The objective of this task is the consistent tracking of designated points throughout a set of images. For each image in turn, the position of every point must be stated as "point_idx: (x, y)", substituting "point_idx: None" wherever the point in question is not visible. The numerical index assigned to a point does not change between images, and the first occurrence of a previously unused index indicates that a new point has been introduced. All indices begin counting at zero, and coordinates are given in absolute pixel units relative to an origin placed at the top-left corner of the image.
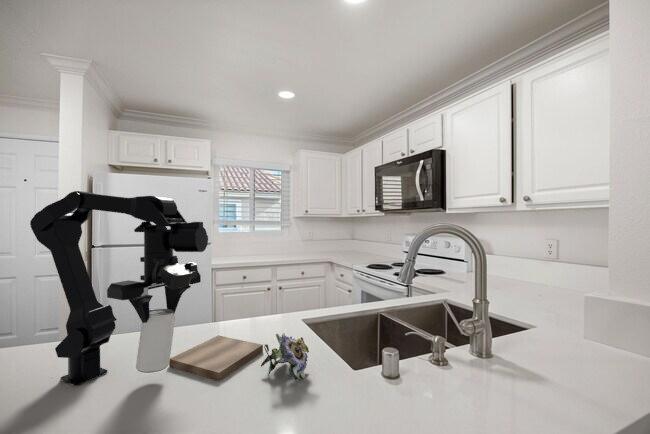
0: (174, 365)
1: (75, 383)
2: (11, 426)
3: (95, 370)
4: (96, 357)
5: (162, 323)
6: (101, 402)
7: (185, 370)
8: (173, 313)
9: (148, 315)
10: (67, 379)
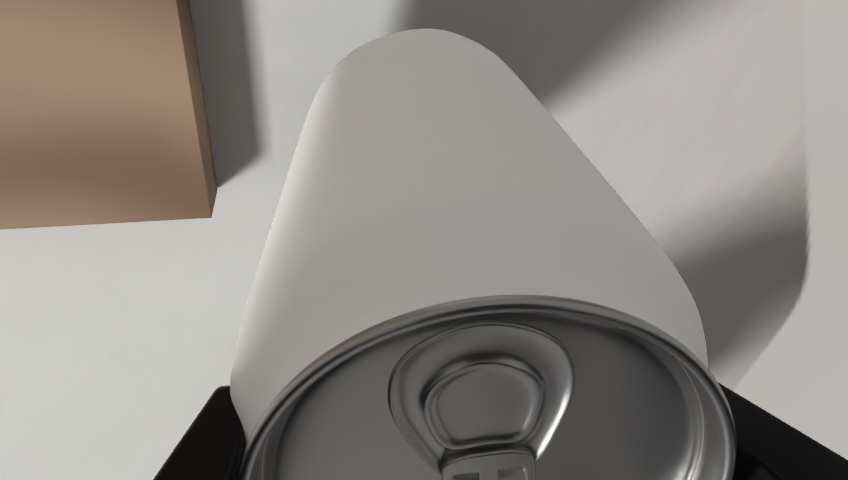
0: (207, 146)
1: None
2: (799, 288)
3: None
4: None
5: (594, 205)
6: (627, 163)
7: (188, 20)
8: (216, 424)
9: (756, 446)
10: None
